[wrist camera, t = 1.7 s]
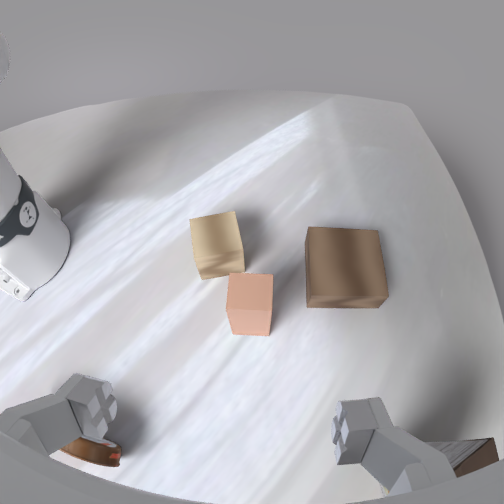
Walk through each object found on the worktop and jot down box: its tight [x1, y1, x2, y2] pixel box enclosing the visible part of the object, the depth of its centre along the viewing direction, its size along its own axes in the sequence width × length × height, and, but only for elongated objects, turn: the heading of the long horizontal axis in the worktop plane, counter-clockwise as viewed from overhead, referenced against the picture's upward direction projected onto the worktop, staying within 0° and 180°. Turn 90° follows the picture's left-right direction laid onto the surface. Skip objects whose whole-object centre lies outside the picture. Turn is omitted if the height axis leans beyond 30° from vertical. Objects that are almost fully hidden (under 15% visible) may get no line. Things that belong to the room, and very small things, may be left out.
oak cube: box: [190, 211, 245, 280], centre depth 41 cm, size 6×6×6 cm
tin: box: [59, 434, 121, 467], centre depth 26 cm, size 15×3×8 cm, turn 83°
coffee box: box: [380, 438, 499, 497], centre depth 19 cm, size 9×6×16 cm
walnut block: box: [305, 227, 389, 308], centre depth 40 cm, size 10×10×4 cm
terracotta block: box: [226, 273, 273, 336], centre depth 34 cm, size 4×4×9 cm
